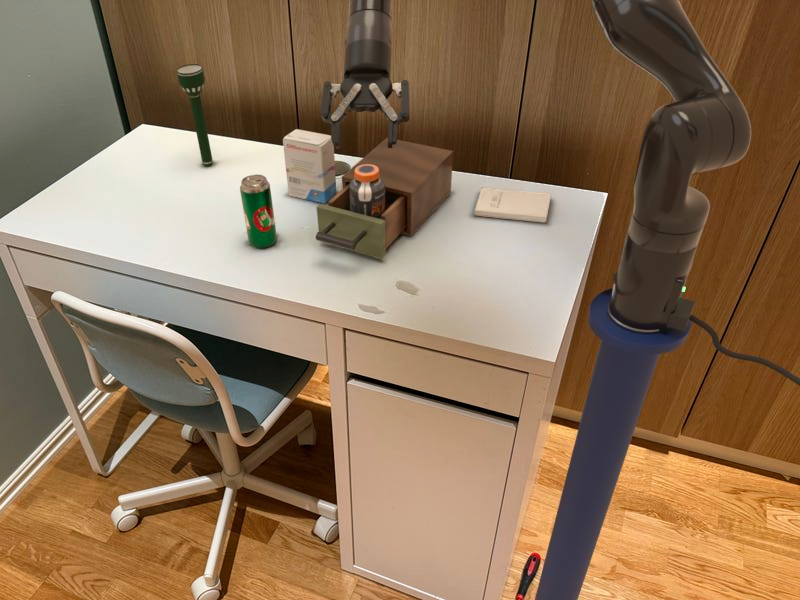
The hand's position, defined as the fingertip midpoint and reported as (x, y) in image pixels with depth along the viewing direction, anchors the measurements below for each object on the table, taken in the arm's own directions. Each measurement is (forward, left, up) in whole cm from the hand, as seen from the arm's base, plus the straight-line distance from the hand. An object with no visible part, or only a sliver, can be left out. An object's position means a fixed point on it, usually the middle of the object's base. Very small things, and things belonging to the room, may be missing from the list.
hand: (363, 146), depth 115 cm
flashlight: (+43, -9, -17) cm, 47 cm away
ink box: (+16, -8, -17) cm, 25 cm away
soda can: (+15, +10, -17) cm, 25 cm away
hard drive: (-20, -19, -17) cm, 32 cm away
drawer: (-1, +1, -16) cm, 16 cm away
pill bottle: (-1, +1, -15) cm, 15 cm away
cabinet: (-1, -11, -16) cm, 20 cm away
